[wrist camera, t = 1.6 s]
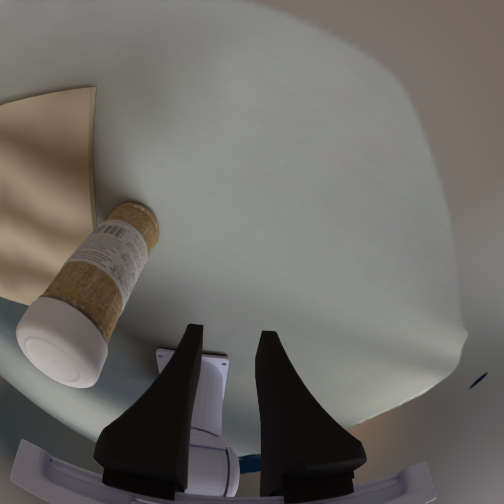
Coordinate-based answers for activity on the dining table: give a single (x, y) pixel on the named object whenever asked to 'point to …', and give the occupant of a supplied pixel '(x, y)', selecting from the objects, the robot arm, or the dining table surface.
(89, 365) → the sprinkles bottle
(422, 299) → the dining table surface
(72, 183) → the birch board
